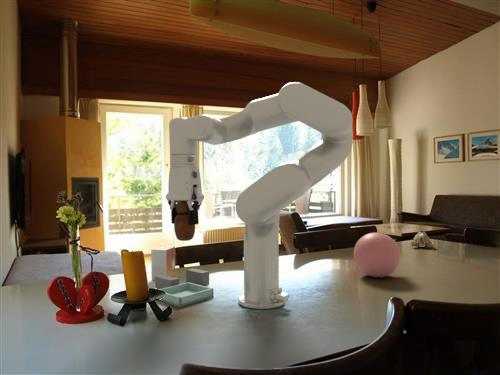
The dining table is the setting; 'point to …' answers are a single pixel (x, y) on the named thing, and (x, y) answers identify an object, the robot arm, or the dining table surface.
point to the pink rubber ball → (376, 255)
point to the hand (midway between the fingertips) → (184, 223)
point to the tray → (186, 294)
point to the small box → (163, 261)
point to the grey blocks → (191, 277)
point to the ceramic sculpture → (422, 240)
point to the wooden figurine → (183, 222)
